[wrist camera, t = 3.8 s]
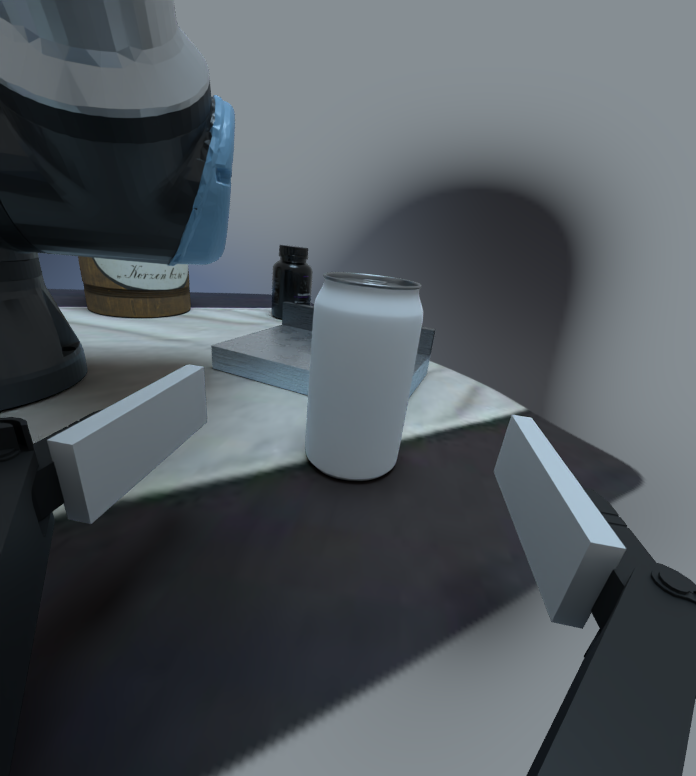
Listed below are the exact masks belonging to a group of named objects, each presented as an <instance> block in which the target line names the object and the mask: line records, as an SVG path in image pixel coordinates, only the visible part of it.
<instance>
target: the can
mask: <svg viewBox="0 0 696 776" xmlns="http://www.w3.org/2000/svg"><path fill="white" fill-rule="evenodd" d="M323 276H324V278H325V281H324V284H323V286H322V288H321V290H320V292H319V294H318V296H317V297H316V300H315V304H314V314H313V328H312V343H311V358H310V373H309V389H308V405H307V422H306V441H305V451H306V455H307V457H308V459H309V460H310V461H311V463H312V464H313V465H314V466H315V467H316V468H317V469H319V470H320V471H321V472H323V473H324V474H326V475H328V476H330V477H333V478H336V479H341V480H347V481H368V480H372V479H376V478H378V477H380V476H382V475H384V474H385V473H387V472H388V471H390V470H391V469H392V468H393V467H394V465H395V463H396V460H397V456H398V452H399V447H400V441H401V436H402V431H403V426H404V420H405V415H406V410H407V404H408V399H409V393H410V388H411V383H412V377H413V372H414V366H415V361H416V355H417V350H418V344H419V339H420V333H421V327H422V320H423V309H422V305H421V301H420V298H419V289H420V288H421V284H419V283H417V282H413V281H409V280H404V279H399V278H393V277H386V276H379V275H370V274H360V273H345V272H332V273H331V272H330V273H325V274H324V275H323Z"/></svg>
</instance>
